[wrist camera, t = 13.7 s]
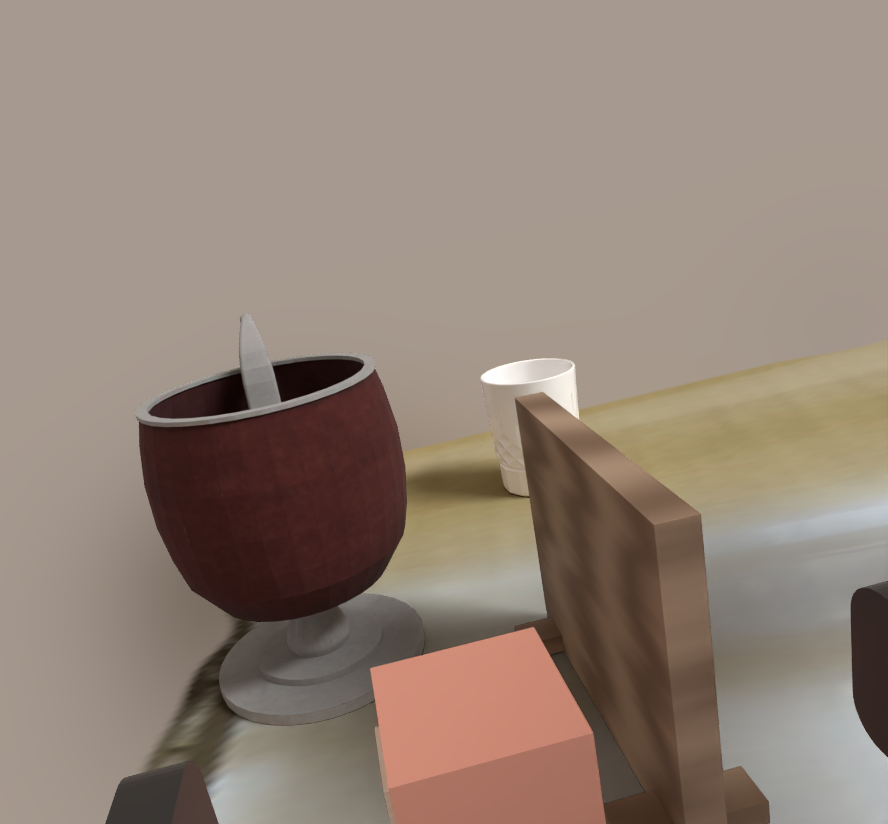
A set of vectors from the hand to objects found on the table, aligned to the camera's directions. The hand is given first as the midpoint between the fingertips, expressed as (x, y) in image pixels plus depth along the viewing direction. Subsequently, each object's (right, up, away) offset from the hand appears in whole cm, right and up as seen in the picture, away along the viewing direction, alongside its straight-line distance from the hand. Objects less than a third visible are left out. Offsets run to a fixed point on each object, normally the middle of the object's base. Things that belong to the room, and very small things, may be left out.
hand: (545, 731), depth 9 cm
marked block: (+2, -15, +15) cm, 21 cm away
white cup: (+7, -2, +58) cm, 59 cm away
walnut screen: (+7, -11, +28) cm, 31 cm away
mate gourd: (-8, -11, +38) cm, 41 cm away
